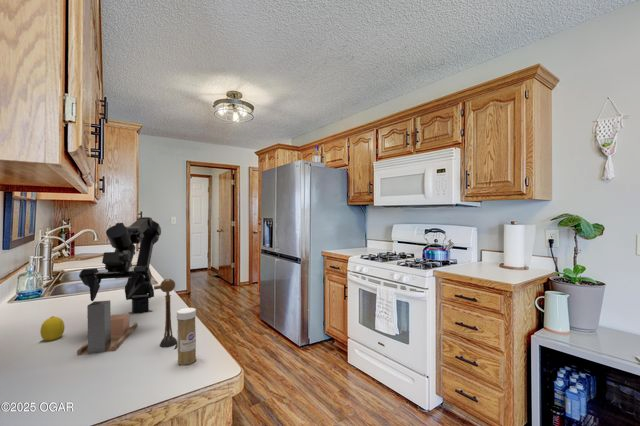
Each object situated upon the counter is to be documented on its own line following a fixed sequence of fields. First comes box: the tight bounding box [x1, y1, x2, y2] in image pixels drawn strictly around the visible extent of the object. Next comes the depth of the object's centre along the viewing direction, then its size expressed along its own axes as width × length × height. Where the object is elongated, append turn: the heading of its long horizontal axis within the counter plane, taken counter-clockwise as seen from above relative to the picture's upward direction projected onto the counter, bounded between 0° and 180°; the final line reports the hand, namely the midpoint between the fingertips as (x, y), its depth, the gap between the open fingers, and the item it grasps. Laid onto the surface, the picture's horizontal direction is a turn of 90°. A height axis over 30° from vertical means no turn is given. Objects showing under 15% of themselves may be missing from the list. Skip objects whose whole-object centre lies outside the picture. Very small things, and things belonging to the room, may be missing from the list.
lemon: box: [40, 315, 65, 342], centre depth 93 cm, size 6×6×8 cm
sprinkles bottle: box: [176, 307, 197, 366], centre depth 79 cm, size 5×5×13 cm
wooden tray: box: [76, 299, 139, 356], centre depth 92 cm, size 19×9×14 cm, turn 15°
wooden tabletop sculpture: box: [153, 278, 178, 350], centre depth 87 cm, size 6×5×20 cm
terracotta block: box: [111, 313, 130, 336], centre depth 97 cm, size 5×5×5 cm
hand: (109, 299), depth 91 cm, fingers open, 9 cm apart
